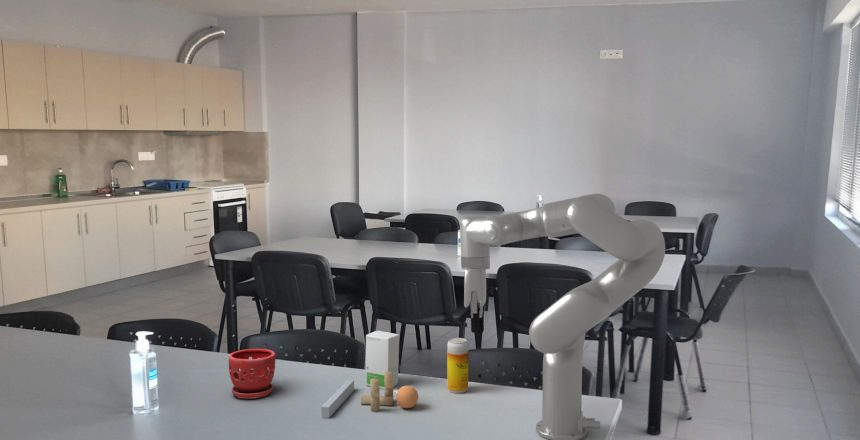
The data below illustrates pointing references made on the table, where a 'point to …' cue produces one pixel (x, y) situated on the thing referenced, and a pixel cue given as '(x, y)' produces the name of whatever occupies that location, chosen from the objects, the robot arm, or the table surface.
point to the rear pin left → (375, 395)
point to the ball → (407, 396)
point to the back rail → (337, 399)
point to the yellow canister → (457, 365)
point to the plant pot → (252, 372)
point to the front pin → (383, 400)
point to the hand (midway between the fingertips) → (477, 331)
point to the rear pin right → (388, 383)
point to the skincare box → (381, 356)
